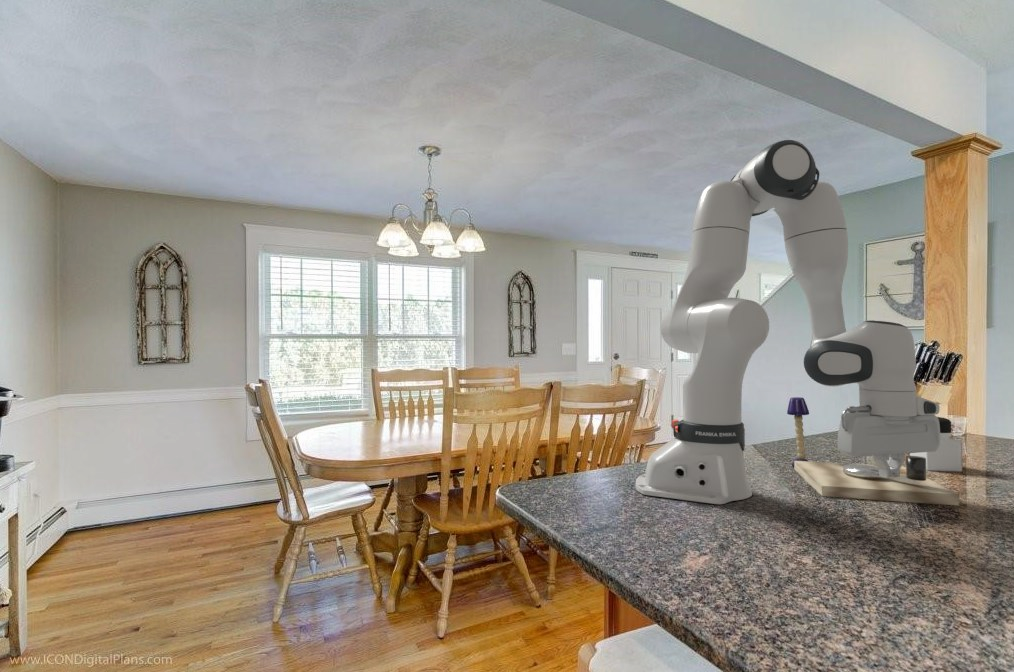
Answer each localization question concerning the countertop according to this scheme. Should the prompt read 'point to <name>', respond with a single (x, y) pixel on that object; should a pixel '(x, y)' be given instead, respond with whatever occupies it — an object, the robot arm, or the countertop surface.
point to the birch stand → (871, 485)
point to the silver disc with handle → (913, 475)
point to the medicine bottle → (944, 451)
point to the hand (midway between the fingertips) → (889, 477)
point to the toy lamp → (798, 424)
